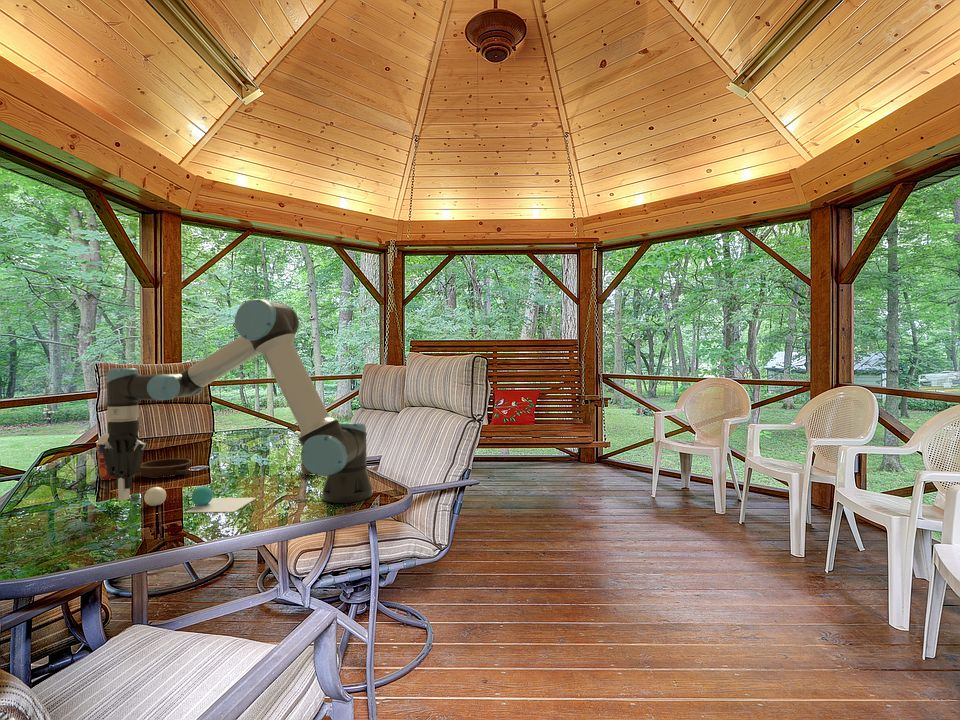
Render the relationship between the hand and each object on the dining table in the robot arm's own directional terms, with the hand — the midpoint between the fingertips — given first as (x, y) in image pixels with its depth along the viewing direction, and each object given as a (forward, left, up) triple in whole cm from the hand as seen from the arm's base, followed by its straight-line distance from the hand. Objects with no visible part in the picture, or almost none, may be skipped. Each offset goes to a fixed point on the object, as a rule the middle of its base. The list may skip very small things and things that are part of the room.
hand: (124, 499), depth 146 cm
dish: (+14, -40, -3) cm, 42 cm away
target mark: (-29, 0, -2) cm, 29 cm away
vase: (-42, -38, -2) cm, 57 cm away
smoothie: (+30, -34, -2) cm, 45 cm away
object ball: (-23, 0, +1) cm, 23 cm away
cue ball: (-9, 0, +1) cm, 9 cm away
